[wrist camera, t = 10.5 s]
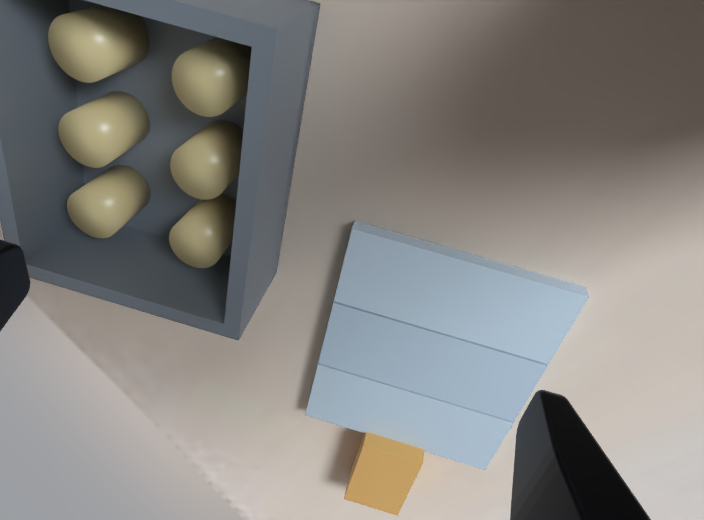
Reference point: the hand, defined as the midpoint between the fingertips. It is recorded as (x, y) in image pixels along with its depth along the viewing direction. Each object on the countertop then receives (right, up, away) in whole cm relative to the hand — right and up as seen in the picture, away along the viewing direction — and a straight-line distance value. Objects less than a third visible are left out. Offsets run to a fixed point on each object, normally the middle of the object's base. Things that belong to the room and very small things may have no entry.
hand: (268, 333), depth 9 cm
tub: (-5, +6, +11) cm, 14 cm away
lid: (+4, -5, +17) cm, 18 cm away
